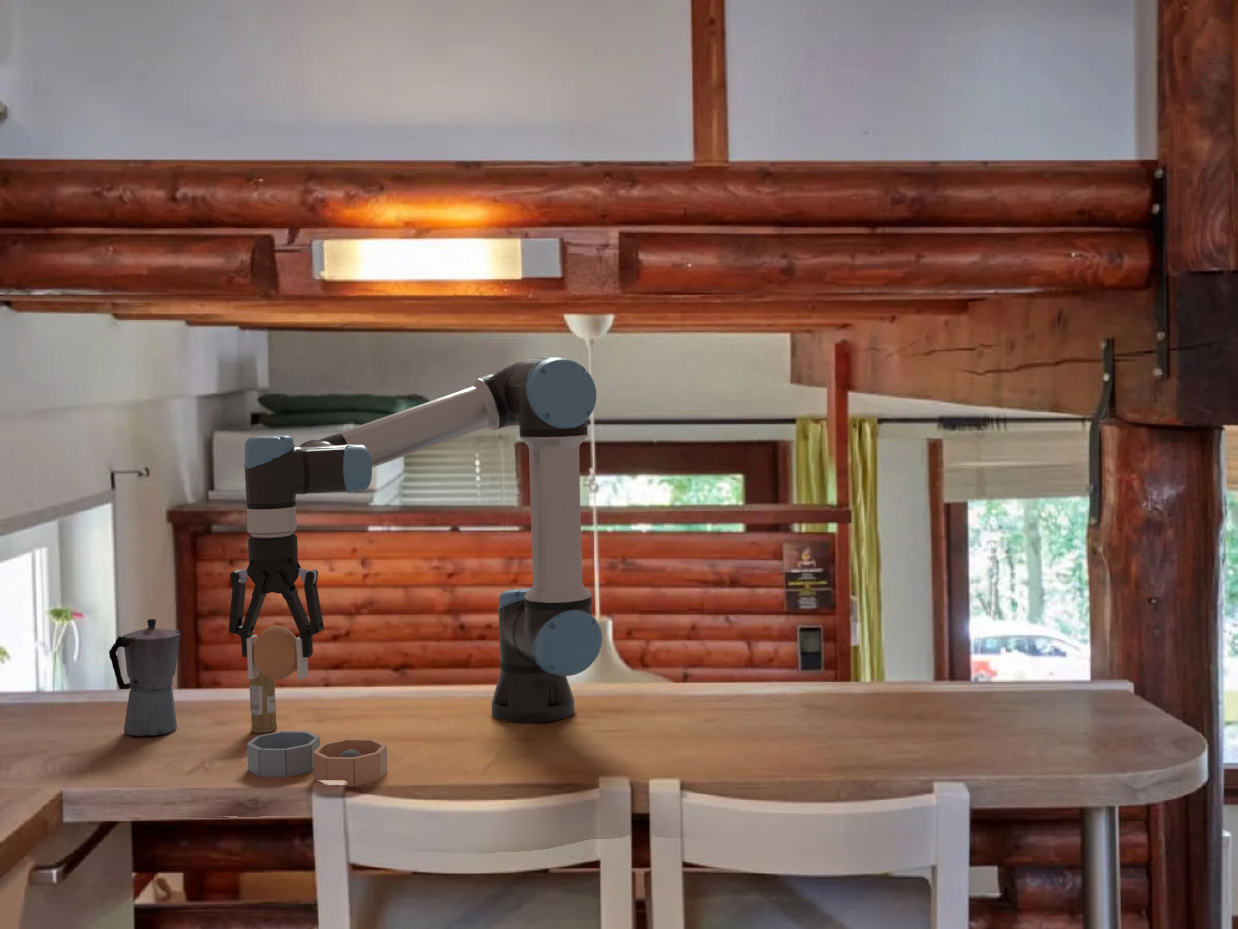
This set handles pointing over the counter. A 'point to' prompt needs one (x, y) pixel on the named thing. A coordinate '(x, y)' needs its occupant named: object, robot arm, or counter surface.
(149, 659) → the moka pot
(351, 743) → the brown octagonal bowl
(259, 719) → the sprinkles bottle
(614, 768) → the counter surface
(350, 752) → the rubber ball
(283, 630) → the egg
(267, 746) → the grey octagonal bowl
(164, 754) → the counter surface
